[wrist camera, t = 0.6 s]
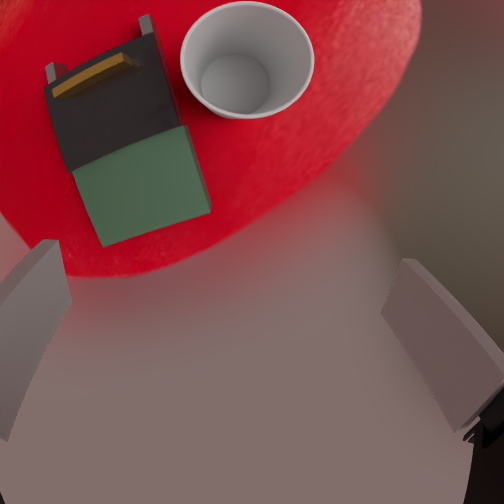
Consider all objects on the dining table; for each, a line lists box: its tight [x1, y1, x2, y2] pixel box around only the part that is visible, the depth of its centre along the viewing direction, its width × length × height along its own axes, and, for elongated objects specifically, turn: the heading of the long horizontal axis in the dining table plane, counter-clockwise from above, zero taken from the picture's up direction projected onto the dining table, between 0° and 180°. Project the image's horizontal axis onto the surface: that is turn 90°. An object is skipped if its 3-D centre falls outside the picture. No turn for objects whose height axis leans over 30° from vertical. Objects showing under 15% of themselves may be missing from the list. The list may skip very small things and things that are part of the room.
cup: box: [180, 1, 314, 119], centre depth 21 cm, size 8×8×16 cm
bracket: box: [45, 14, 184, 126], centre depth 25 cm, size 14×13×4 cm
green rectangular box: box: [72, 125, 211, 247], centre depth 31 cm, size 10×14×4 cm
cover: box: [44, 32, 180, 173], centre depth 22 cm, size 11×14×4 cm
